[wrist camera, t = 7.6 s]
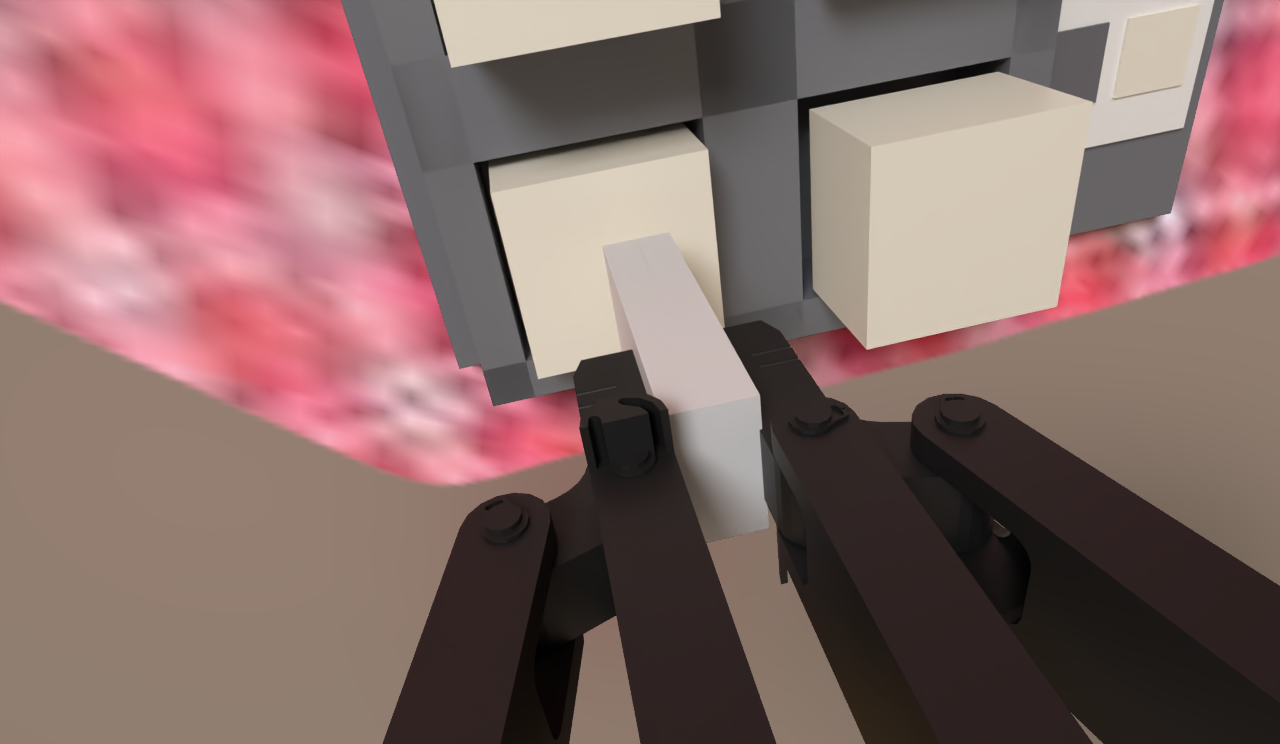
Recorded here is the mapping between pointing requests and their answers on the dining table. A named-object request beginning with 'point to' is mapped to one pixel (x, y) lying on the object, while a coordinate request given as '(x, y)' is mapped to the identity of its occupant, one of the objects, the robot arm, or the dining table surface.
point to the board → (755, 127)
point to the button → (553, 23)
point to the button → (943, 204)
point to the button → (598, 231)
